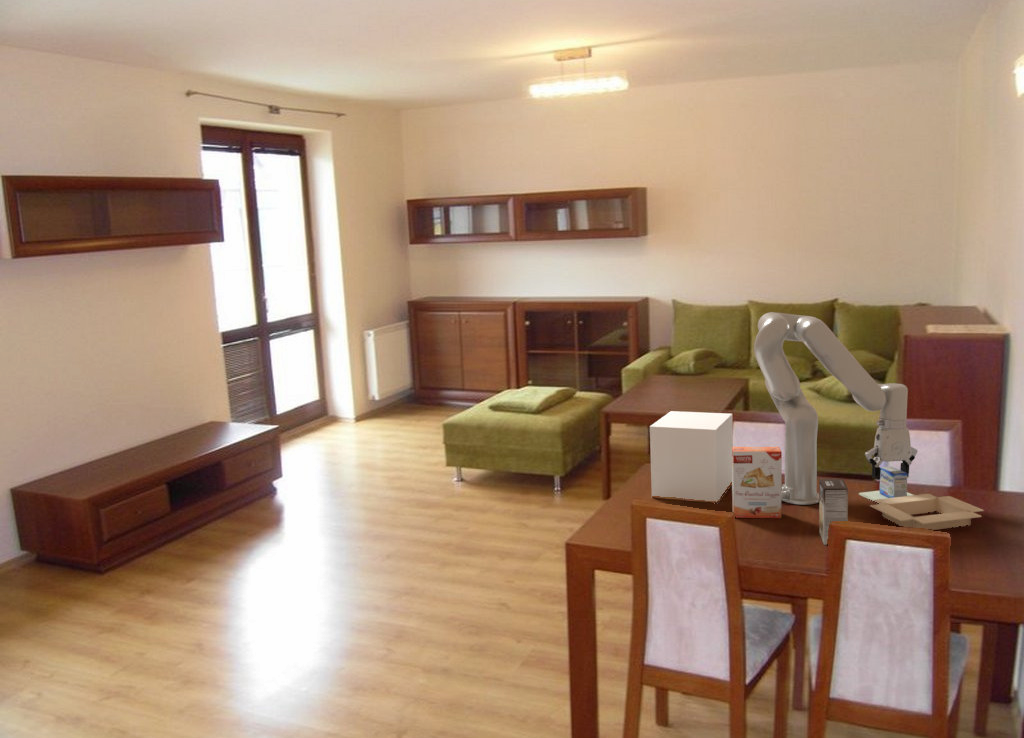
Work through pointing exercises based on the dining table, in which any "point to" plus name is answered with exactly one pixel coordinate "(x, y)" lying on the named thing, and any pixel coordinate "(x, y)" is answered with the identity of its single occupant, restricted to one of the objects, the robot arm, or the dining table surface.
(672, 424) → the cube
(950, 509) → the carton
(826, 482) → the coffee box
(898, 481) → the medicine box
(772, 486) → the cracker box
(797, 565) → the dining table surface
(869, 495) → the sage board
